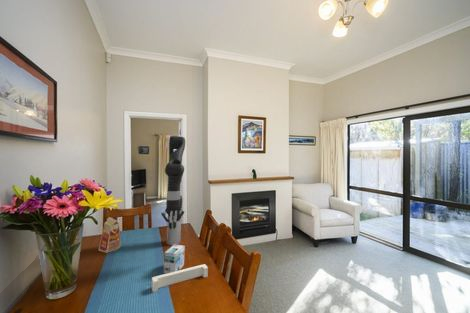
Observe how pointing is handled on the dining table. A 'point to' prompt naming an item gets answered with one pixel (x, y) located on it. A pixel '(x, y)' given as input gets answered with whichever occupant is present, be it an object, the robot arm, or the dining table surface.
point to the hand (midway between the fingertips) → (172, 228)
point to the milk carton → (110, 236)
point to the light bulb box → (174, 258)
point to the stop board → (178, 276)
